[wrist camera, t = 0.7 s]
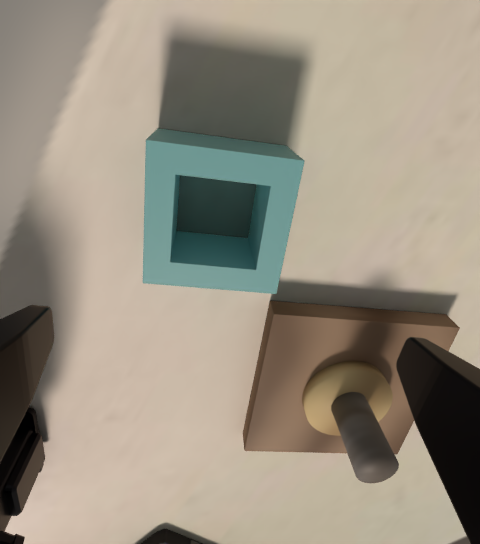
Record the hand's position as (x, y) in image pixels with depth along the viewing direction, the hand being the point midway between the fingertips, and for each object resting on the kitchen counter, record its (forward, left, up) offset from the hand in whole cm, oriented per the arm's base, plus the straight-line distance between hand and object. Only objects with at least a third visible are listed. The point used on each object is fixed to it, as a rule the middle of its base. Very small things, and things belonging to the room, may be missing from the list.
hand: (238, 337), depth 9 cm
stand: (+10, -12, -12) cm, 19 cm away
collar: (0, 0, -12) cm, 12 cm away
